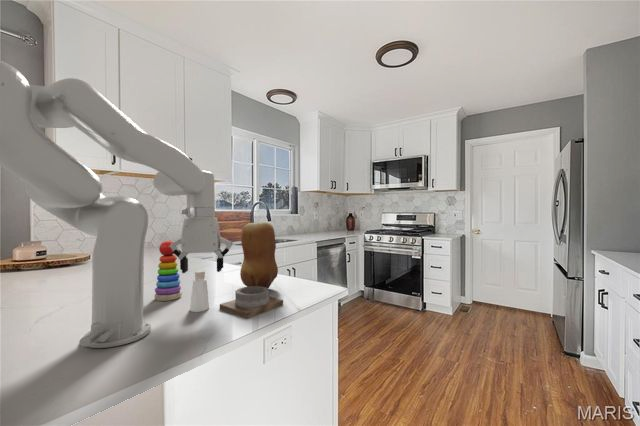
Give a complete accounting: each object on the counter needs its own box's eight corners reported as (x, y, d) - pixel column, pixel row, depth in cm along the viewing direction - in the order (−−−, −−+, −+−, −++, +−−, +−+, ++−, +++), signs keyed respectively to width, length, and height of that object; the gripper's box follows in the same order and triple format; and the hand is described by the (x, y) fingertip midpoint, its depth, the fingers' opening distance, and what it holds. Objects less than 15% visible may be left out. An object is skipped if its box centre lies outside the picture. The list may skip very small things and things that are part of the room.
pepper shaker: (203, 304, 87) (204, 268, 87) (213, 308, 84) (213, 271, 84) (185, 309, 83) (186, 271, 83) (195, 313, 80) (195, 274, 80)
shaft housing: (247, 318, 76) (247, 299, 76) (219, 309, 83) (219, 292, 83) (282, 304, 88) (283, 288, 88) (256, 297, 95) (256, 282, 95)
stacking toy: (186, 295, 97) (187, 240, 97) (172, 302, 89) (172, 242, 89) (164, 294, 98) (165, 239, 98) (148, 301, 90) (149, 241, 90)
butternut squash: (239, 287, 108) (240, 221, 108) (275, 285, 112) (275, 221, 112) (240, 298, 94) (241, 222, 94) (281, 294, 98) (281, 222, 98)
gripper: (164, 214, 79) (166, 275, 79) (229, 213, 81) (230, 273, 82) (174, 213, 86) (175, 269, 87) (233, 212, 88) (234, 267, 89)
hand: (202, 271), depth 84 cm, fingers open, 9 cm apart
